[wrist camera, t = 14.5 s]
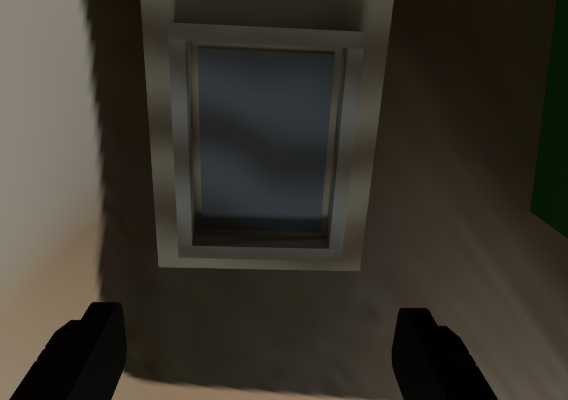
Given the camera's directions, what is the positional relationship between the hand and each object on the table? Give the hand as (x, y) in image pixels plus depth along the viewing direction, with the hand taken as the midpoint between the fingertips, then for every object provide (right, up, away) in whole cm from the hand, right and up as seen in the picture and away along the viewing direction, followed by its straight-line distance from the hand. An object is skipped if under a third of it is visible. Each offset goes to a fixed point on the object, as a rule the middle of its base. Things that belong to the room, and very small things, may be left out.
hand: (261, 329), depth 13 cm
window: (-1, +8, +20) cm, 21 cm away
